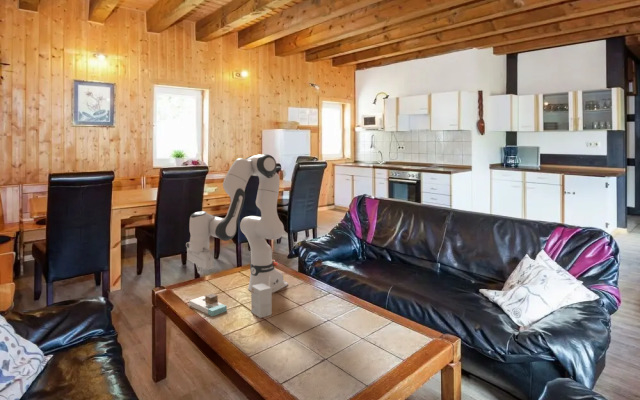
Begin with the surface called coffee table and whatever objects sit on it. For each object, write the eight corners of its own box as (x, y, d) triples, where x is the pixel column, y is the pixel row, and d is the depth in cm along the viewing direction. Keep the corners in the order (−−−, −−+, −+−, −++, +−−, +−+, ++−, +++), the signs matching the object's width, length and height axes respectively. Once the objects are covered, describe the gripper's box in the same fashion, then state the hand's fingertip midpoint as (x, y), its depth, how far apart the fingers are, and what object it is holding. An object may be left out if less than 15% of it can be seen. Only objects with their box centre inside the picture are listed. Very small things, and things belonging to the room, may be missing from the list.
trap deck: (203, 300, 203) (203, 295, 203) (226, 310, 192) (226, 305, 191) (189, 305, 197) (189, 300, 197) (212, 316, 186) (212, 311, 185)
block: (212, 299, 198) (212, 293, 198) (217, 301, 196) (217, 295, 195) (205, 302, 195) (205, 295, 195) (210, 304, 193) (210, 297, 192)
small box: (272, 314, 189) (272, 287, 187) (260, 318, 185) (260, 290, 183) (262, 309, 195) (262, 282, 193) (250, 312, 191) (250, 285, 189)
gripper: (216, 249, 190) (217, 278, 192) (196, 240, 205) (197, 267, 207) (203, 252, 185) (204, 281, 188) (184, 242, 200) (185, 269, 203)
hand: (200, 273), depth 197 cm, fingers closed
